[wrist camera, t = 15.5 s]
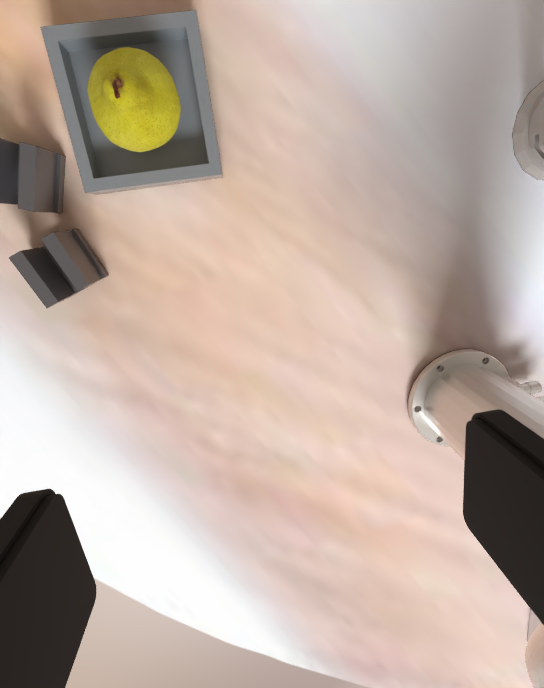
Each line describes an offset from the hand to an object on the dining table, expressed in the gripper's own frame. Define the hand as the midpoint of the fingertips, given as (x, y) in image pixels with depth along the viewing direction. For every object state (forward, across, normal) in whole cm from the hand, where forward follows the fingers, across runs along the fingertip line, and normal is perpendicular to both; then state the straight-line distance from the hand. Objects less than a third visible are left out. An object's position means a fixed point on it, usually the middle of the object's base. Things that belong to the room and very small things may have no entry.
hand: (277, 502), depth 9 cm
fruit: (+33, +6, -16) cm, 37 cm away
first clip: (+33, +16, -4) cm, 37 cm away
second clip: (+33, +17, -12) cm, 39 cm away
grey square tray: (+33, +6, -16) cm, 37 cm away
